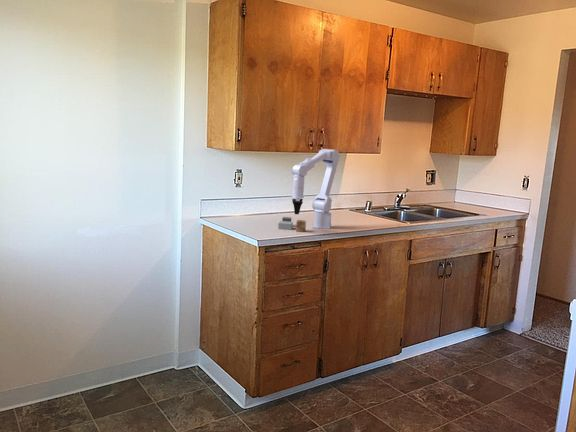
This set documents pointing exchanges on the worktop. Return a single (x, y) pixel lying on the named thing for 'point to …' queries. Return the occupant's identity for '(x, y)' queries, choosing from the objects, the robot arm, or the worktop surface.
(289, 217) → the charcoal block
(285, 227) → the slate base block
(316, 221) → the robot arm
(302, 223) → the walnut block
